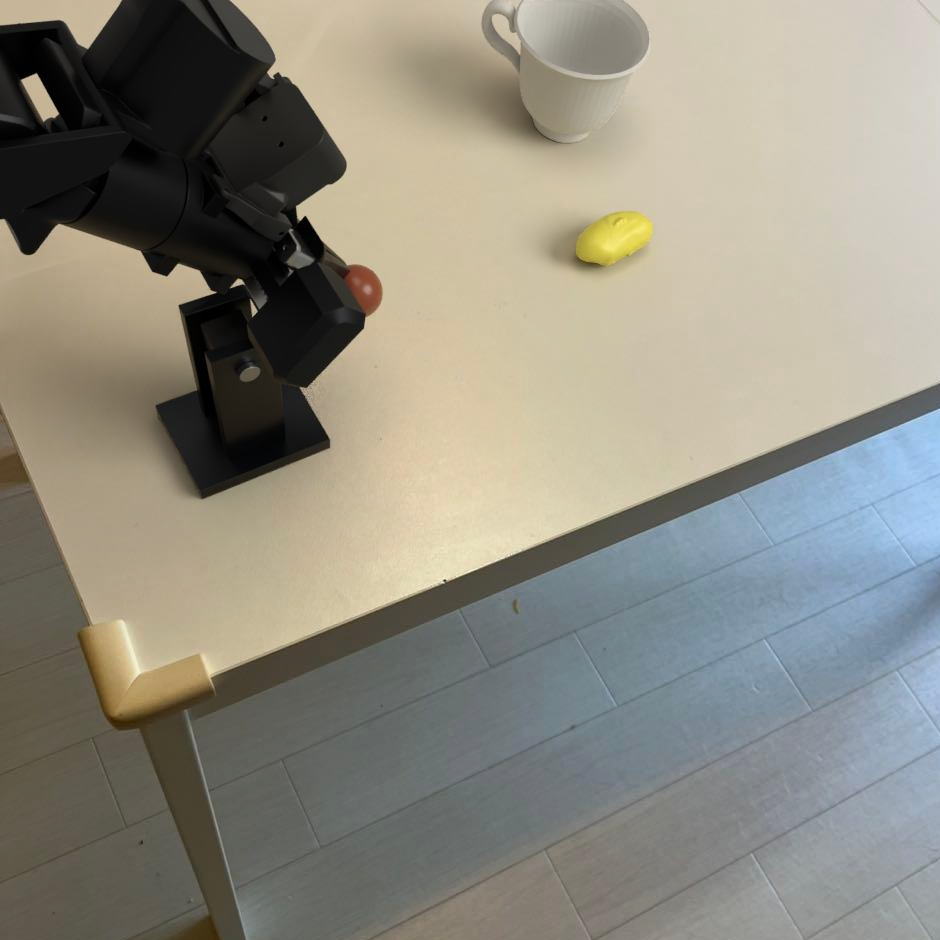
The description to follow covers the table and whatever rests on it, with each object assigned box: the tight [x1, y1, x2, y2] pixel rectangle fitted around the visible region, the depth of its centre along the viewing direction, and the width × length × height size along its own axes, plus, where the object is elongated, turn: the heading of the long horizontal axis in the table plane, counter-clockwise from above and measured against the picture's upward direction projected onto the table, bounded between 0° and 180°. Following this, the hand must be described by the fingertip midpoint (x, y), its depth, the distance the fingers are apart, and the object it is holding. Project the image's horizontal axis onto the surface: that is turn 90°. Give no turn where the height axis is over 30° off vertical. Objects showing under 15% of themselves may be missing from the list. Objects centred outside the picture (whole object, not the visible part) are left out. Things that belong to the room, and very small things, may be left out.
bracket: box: [154, 283, 331, 500], centre depth 70 cm, size 10×8×13 cm
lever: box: [200, 263, 384, 351], centre depth 68 cm, size 12×4×4 cm, turn 121°
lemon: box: [575, 210, 654, 267], centre depth 88 cm, size 4×8×4 cm, turn 120°
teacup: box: [480, 0, 652, 144], centre depth 92 cm, size 12×15×10 cm
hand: (343, 272), depth 67 cm, fingers closed
